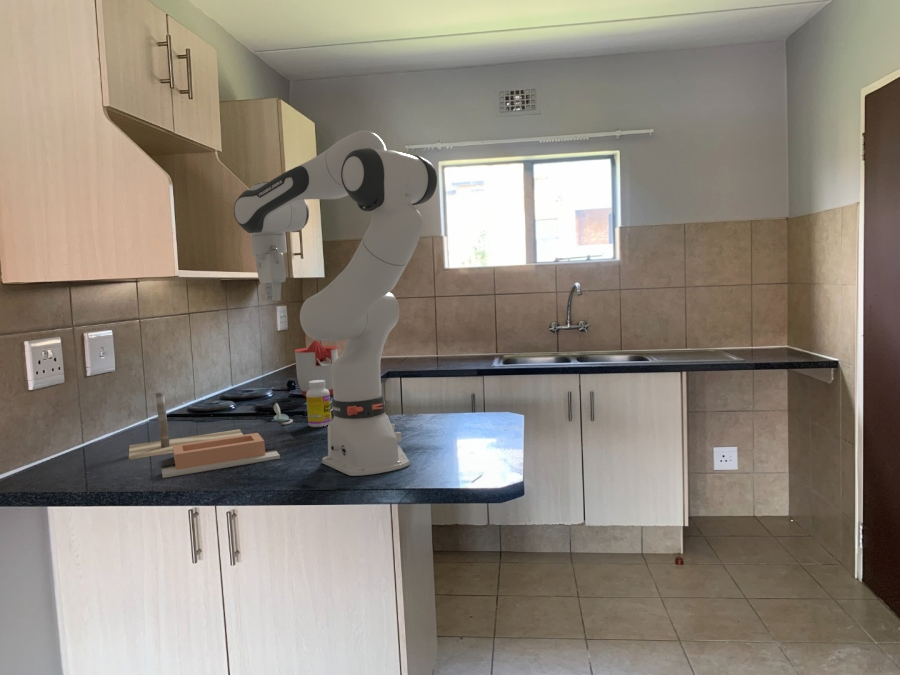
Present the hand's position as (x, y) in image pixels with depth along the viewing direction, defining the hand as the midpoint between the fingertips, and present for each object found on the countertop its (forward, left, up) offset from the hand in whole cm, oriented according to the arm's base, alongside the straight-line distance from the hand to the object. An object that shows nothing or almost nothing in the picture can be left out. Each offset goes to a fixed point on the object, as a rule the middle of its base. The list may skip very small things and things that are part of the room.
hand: (273, 300), depth 178 cm
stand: (+6, +24, -37) cm, 45 cm away
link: (-12, +18, -36) cm, 42 cm away
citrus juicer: (+60, -24, -37) cm, 75 cm away
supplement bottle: (+11, -12, -37) cm, 41 cm away
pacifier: (+21, -3, -38) cm, 43 cm away
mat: (-12, +18, -37) cm, 43 cm away
